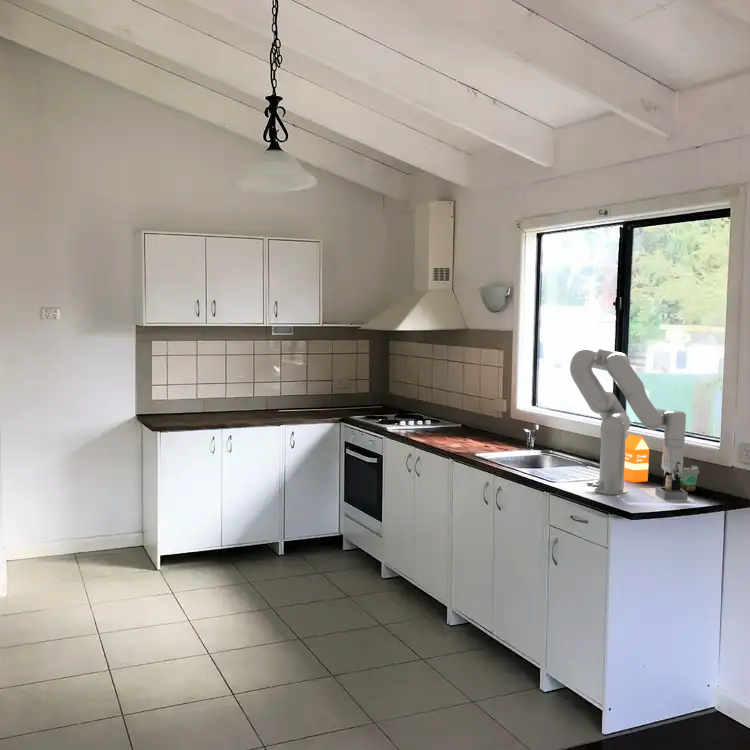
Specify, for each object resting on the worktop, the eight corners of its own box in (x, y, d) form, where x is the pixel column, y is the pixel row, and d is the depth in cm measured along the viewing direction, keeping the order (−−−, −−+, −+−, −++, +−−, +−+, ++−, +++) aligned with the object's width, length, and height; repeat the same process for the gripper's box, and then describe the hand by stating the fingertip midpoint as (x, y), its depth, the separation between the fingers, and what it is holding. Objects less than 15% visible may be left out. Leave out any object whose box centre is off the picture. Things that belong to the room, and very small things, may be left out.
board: (659, 502, 315) (659, 500, 315) (638, 489, 336) (638, 488, 336) (695, 503, 315) (695, 501, 315) (672, 490, 337) (672, 488, 337)
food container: (686, 495, 329) (688, 470, 328) (673, 492, 334) (674, 467, 333) (704, 491, 336) (705, 467, 336) (690, 488, 341) (692, 464, 341)
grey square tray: (664, 499, 316) (664, 492, 316) (655, 494, 325) (655, 487, 325) (687, 500, 316) (687, 492, 316) (677, 494, 325) (678, 487, 325)
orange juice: (632, 484, 348) (635, 437, 346) (619, 479, 356) (621, 433, 355) (647, 483, 351) (650, 436, 349) (634, 478, 359) (636, 433, 357)
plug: (667, 498, 318) (669, 477, 318) (662, 495, 323) (664, 475, 323) (680, 498, 318) (681, 478, 318) (674, 496, 323) (676, 475, 323)
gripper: (656, 439, 328) (653, 483, 329) (673, 446, 310) (670, 492, 312) (674, 439, 328) (672, 483, 329) (693, 446, 311) (690, 493, 312)
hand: (671, 487), depth 320 cm, fingers open, 7 cm apart
